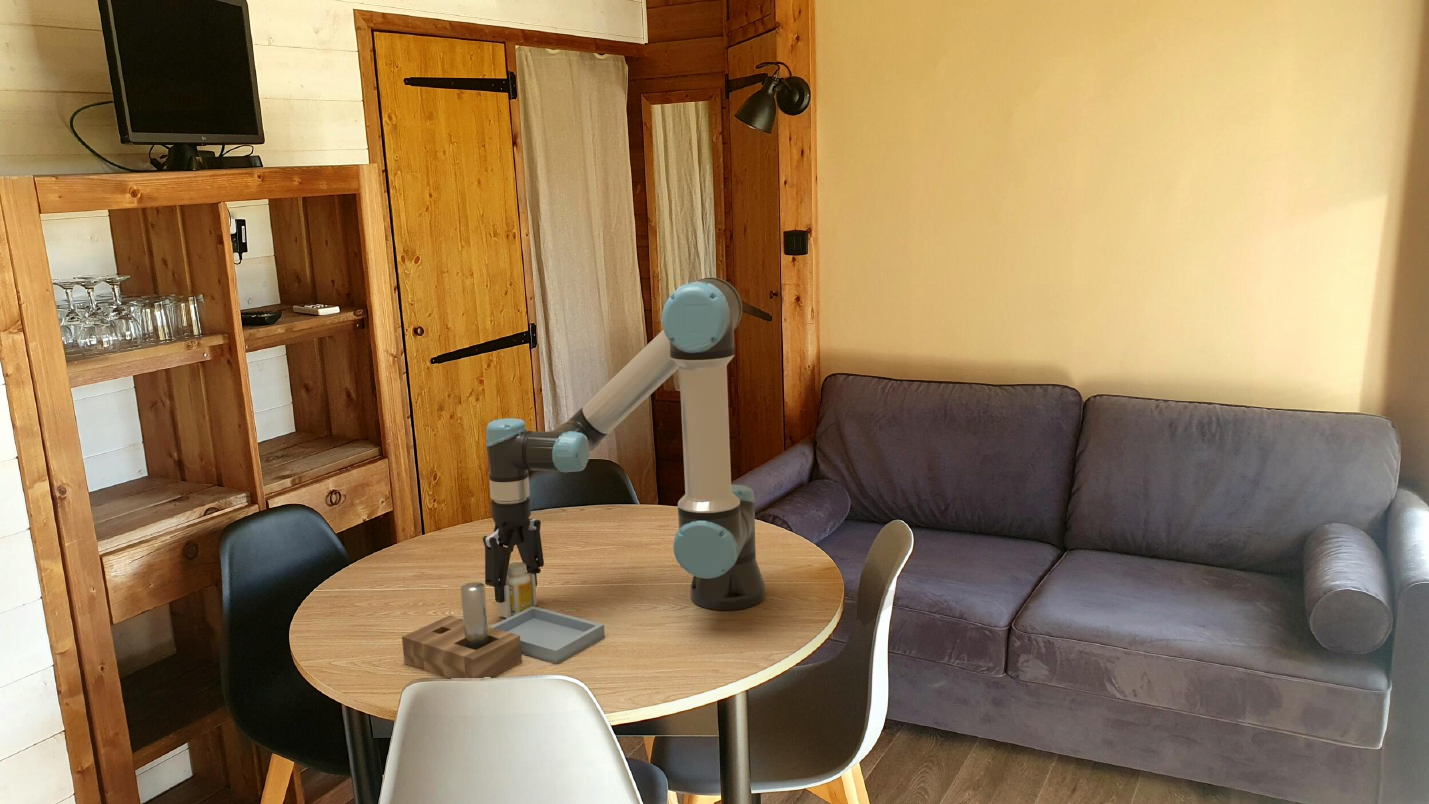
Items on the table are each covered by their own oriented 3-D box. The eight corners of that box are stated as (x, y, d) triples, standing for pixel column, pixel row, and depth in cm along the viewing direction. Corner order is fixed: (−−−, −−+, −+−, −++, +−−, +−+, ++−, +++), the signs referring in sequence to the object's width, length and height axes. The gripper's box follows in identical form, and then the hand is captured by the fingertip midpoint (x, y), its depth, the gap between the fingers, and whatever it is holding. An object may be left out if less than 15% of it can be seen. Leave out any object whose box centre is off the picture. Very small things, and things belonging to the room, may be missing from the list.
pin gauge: (495, 665, 182) (489, 585, 179) (478, 674, 178) (471, 592, 176) (479, 660, 184) (473, 580, 181) (462, 669, 181) (455, 588, 178)
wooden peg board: (521, 662, 183) (519, 635, 182) (475, 687, 174) (473, 659, 173) (451, 640, 193) (449, 615, 192) (404, 663, 184) (401, 636, 183)
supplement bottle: (503, 617, 203) (500, 571, 201) (506, 607, 208) (502, 561, 206) (531, 615, 203) (528, 569, 201) (533, 605, 208) (530, 560, 207)
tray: (604, 637, 192) (604, 624, 192) (556, 664, 182) (556, 650, 181) (533, 618, 202) (532, 606, 202) (484, 642, 192) (483, 629, 191)
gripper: (531, 483, 211) (538, 590, 216) (458, 508, 195) (467, 623, 200) (558, 488, 207) (565, 597, 211) (487, 514, 191) (495, 631, 196)
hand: (517, 609), depth 206 cm, fingers open, 6 cm apart
